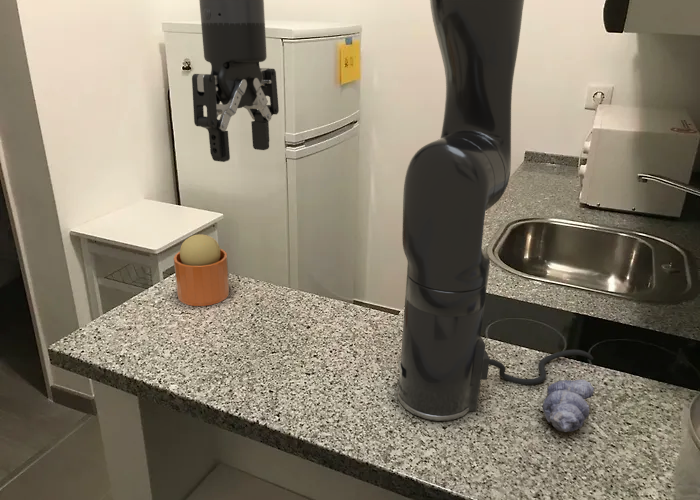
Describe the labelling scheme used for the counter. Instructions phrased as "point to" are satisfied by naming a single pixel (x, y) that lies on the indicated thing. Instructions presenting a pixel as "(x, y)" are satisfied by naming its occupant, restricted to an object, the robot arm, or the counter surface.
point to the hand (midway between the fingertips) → (242, 154)
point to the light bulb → (199, 250)
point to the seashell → (567, 404)
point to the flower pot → (202, 281)
